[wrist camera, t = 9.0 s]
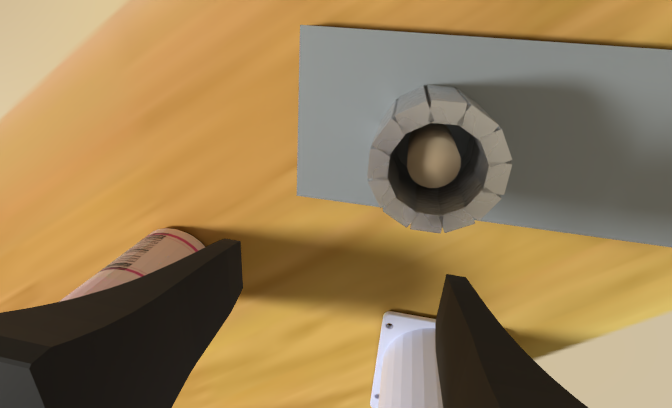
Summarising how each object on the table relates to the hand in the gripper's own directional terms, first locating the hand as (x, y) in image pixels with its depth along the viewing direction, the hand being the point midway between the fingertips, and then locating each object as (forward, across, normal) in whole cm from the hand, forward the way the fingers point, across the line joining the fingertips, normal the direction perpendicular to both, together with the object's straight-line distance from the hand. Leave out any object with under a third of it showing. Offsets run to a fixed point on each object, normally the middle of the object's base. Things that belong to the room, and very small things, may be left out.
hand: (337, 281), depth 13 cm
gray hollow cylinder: (+9, -3, -3) cm, 10 cm away
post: (+9, -3, -3) cm, 10 cm away
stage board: (+10, -6, -4) cm, 12 cm away
